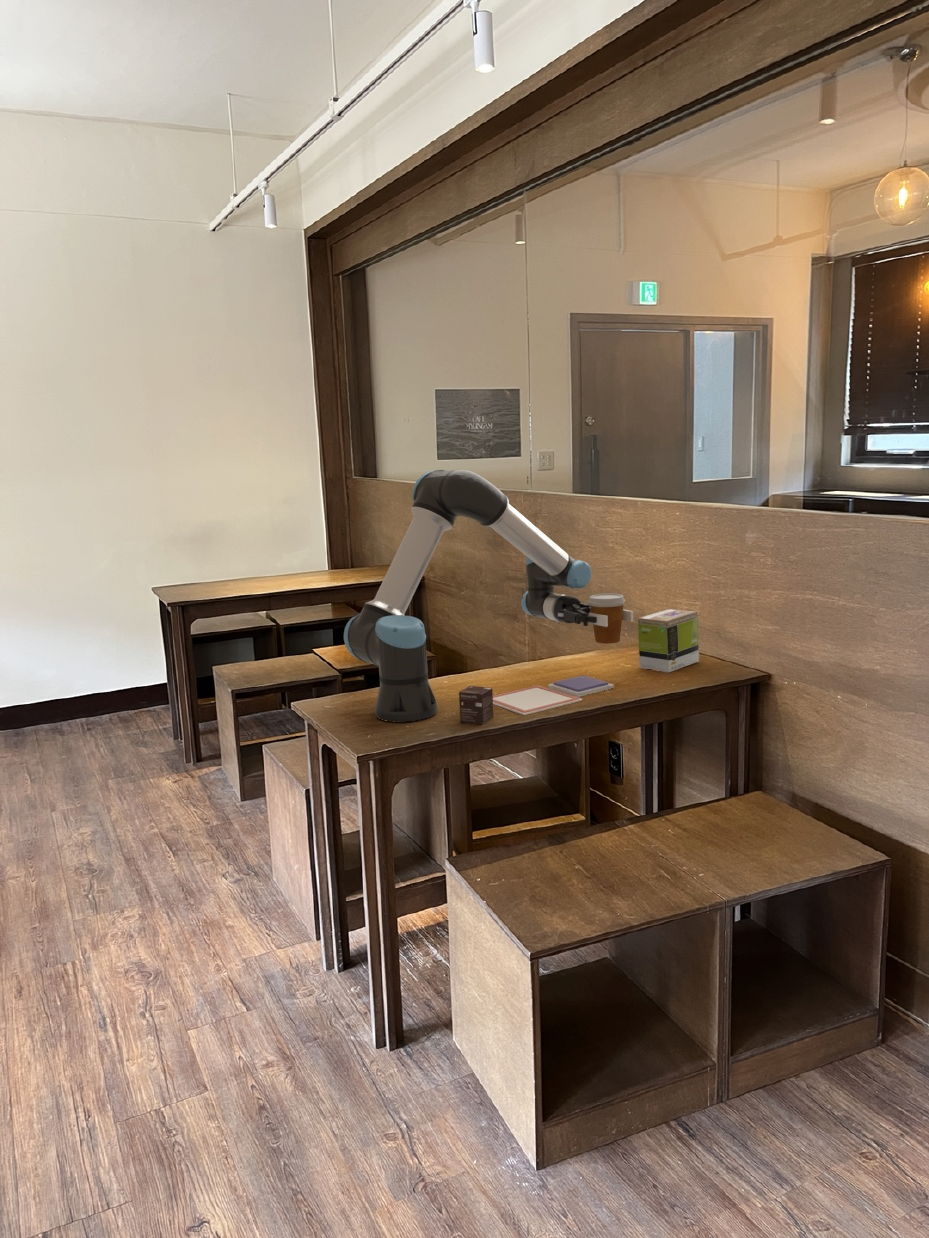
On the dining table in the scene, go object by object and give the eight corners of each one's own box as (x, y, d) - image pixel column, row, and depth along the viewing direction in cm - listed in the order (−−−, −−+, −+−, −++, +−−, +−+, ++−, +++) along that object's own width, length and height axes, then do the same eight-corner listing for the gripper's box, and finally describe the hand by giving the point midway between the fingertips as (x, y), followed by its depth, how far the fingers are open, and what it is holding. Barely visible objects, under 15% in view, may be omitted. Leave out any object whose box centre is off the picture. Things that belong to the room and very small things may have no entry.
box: (459, 722, 205) (457, 692, 204) (471, 715, 210) (469, 685, 209) (482, 724, 202) (481, 694, 201) (494, 717, 207) (492, 687, 206)
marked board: (524, 715, 207) (523, 713, 207) (481, 700, 222) (481, 697, 222) (582, 700, 217) (582, 698, 217) (538, 686, 232) (537, 684, 232)
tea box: (669, 658, 255) (668, 607, 252) (699, 662, 247) (699, 611, 245) (638, 668, 245) (637, 616, 242) (668, 673, 238) (667, 620, 235)
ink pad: (577, 697, 220) (577, 691, 220) (548, 688, 230) (547, 682, 230) (613, 688, 226) (613, 682, 226) (583, 679, 236) (583, 673, 236)
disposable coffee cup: (610, 646, 224) (609, 600, 222) (581, 642, 232) (580, 597, 229) (633, 640, 231) (632, 595, 228) (605, 636, 238) (604, 592, 235)
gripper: (592, 616, 251) (649, 627, 232) (533, 627, 240) (588, 639, 221) (591, 590, 250) (649, 599, 231) (532, 600, 239) (588, 610, 220)
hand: (619, 618), depth 226 cm, fingers closed on disposable coffee cup, 8 cm apart
